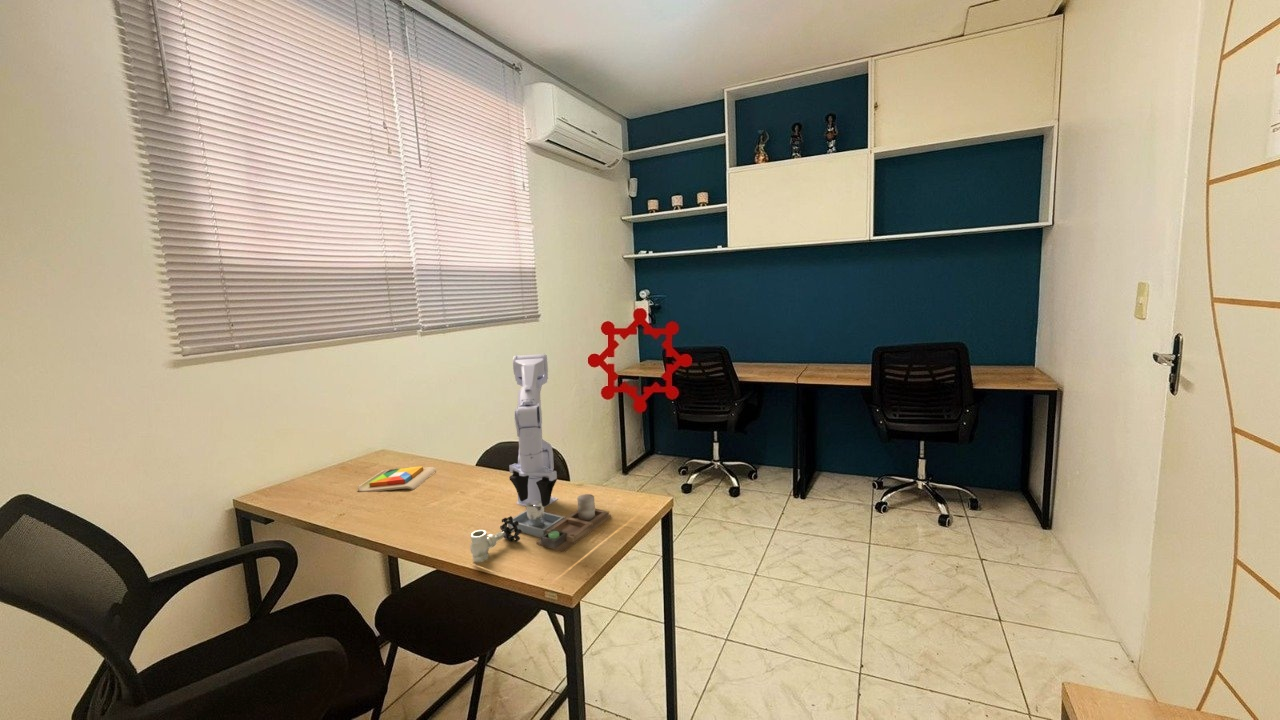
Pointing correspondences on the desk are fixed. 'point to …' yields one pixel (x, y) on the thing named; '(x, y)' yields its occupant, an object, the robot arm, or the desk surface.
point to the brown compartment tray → (575, 525)
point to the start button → (553, 535)
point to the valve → (492, 539)
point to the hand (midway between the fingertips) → (534, 502)
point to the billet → (535, 514)
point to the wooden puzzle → (397, 479)
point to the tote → (525, 528)
